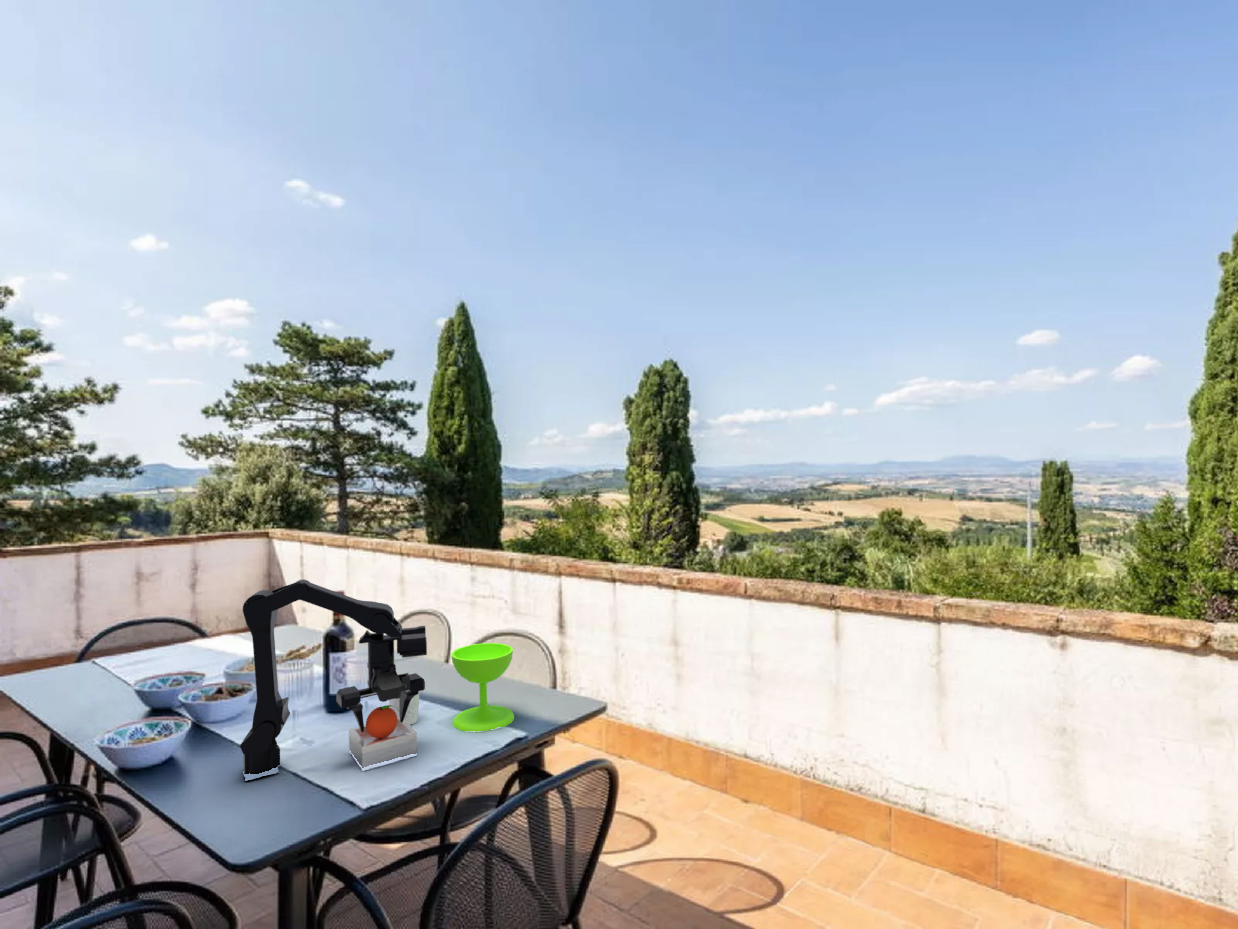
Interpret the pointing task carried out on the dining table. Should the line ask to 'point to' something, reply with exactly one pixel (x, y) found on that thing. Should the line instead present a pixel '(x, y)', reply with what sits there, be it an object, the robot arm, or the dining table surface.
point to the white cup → (411, 711)
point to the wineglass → (482, 684)
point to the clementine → (381, 722)
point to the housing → (382, 744)
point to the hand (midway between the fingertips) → (382, 726)
